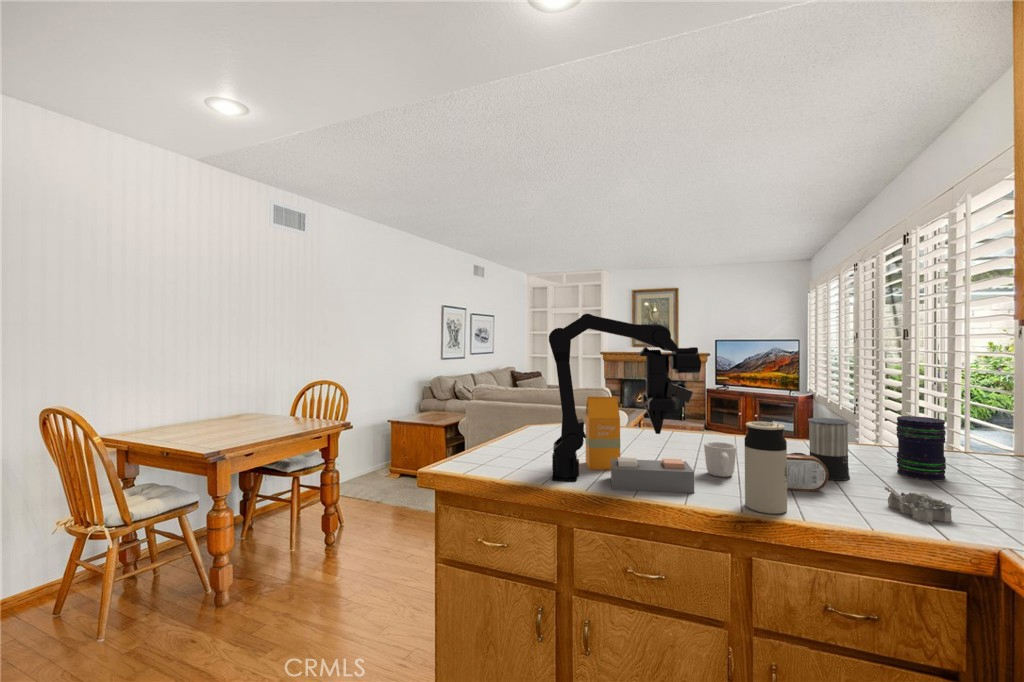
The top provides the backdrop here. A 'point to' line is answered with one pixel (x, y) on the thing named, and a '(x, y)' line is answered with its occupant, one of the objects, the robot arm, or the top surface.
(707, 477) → the top surface
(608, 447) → the orange juice
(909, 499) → the egg carton
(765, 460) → the travel mug
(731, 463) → the cup
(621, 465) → the cream key
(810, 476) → the tin
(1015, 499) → the top surface
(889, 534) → the top surface
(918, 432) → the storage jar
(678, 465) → the terracotta key
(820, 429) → the milk frother
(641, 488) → the key console
